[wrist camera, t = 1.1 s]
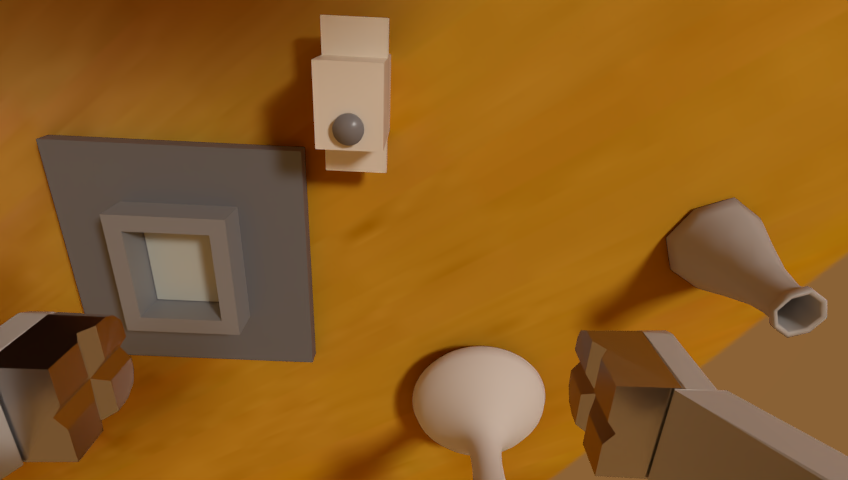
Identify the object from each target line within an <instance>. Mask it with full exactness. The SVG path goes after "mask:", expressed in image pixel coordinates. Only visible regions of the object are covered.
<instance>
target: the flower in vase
mask: <svg viewBox="0 0 848 480" xmlns="http://www.w3.org/2000/svg"><path fill="white" fill-rule="evenodd" d="M412 403H413V410H414V413H415V416H416V418H417V420H418V422H419V424H420V426H421V427H422V429H423V430H424V432H425V433H426V434H427V435H428V436H429V437H430V438H431V439H432V440H434V441H435V442H436V443H438V444H440V445H441V446H443V447H446V448H448V449H450V450H452V451H455V452H457V453H461V454H466V455H470V457H471V462H472V469H473V480H505V476H504V471H503V467H502V458H501V452H502V451H505V450H507V449H509V448H511V447H513V446H515V445H516V444H518V443H519V442H520V441H522V440H523V439H524V438H526V437H527V436H528V435H529V434H530V433H531V432H532V431H533V430H534V428H535V427H536V426H537V424H538V422H539V420H540V418H541V415H542V412H543V408H544V403H545V389H544V385H543V382H542V379H541V377H540V375H539V374H538V372H537V371H536V370H535V368H534V367H533V366H532V365H531V364H530V363H529V362H527V361H526V360H525V359H523V358H522V357H520V356H518V355H516V354H514V353H512V352H509V351H507V350H504V349H500V348H496V347H490V346H471V347H465V348H461V349H457V350H454V351H452V352H449V353H447V354H445V355H443V356H442V357H440V358H438V359H437V360H436V361H434V362H433V363H432V364H430V365H429V366H428V367H427V368H426V369H425V370H424V372H423V373H422V374H421V375H420V377H419V379H418V380H417V382H416V385H415V387H414V391H413V398H412Z"/></svg>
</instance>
